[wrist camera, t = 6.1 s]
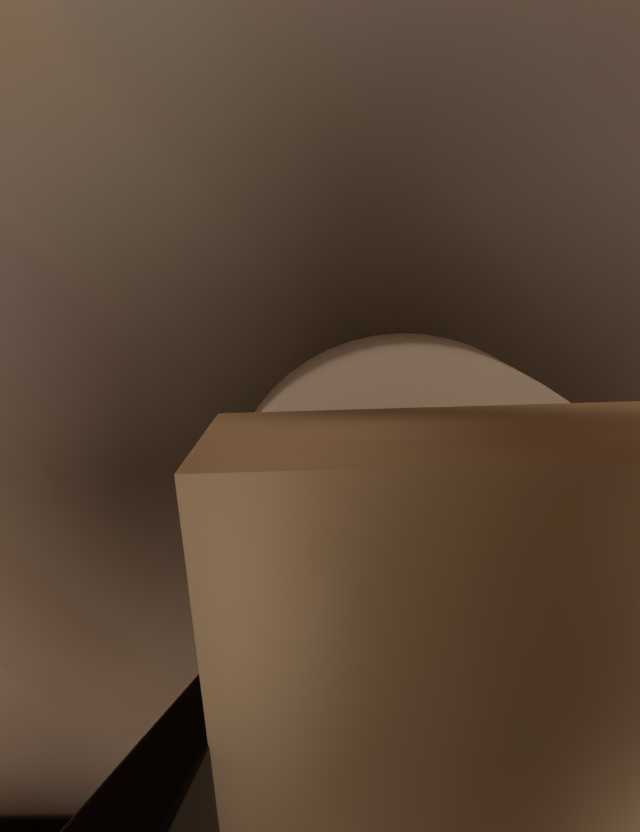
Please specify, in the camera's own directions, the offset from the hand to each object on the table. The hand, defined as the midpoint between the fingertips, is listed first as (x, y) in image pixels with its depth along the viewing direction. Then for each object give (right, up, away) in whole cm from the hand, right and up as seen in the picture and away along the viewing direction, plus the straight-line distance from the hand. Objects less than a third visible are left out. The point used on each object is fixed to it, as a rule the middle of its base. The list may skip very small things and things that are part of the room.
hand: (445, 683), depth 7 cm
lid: (0, 0, 0) cm, 0 cm away
